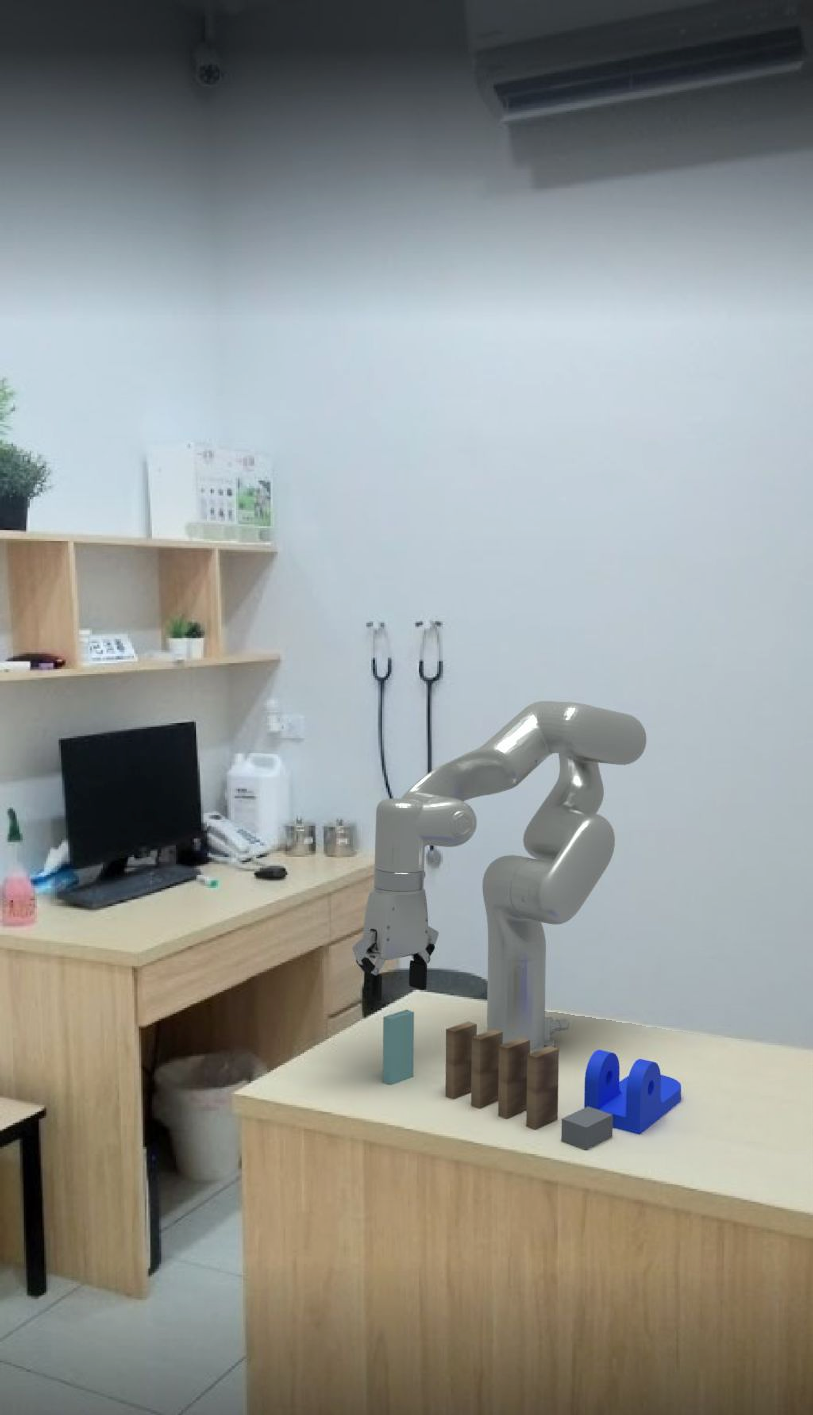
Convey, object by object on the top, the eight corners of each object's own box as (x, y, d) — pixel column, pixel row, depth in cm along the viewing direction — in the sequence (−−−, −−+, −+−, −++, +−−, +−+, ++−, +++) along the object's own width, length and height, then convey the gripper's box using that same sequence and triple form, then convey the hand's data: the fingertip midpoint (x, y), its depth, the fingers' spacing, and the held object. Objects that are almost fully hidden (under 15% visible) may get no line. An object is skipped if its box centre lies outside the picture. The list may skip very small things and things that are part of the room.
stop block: (587, 1127, 156) (588, 1106, 156) (612, 1136, 153) (612, 1114, 153) (561, 1140, 152) (561, 1118, 152) (586, 1149, 149) (586, 1127, 149)
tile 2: (468, 1087, 170) (468, 1021, 170) (476, 1090, 169) (476, 1023, 169) (445, 1096, 167) (446, 1028, 166) (453, 1099, 166) (454, 1031, 165)
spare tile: (405, 1073, 176) (406, 1009, 175) (413, 1076, 175) (414, 1011, 174) (382, 1082, 172) (383, 1016, 172) (390, 1084, 171) (390, 1019, 171)
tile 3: (493, 1096, 167) (494, 1029, 167) (501, 1099, 166) (502, 1031, 166) (471, 1105, 163) (471, 1036, 163) (479, 1108, 162) (480, 1039, 162)
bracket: (639, 1135, 154) (641, 1070, 154) (583, 1121, 159) (585, 1057, 158) (689, 1095, 169) (690, 1035, 168) (637, 1082, 174) (638, 1024, 173)
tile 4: (520, 1106, 164) (521, 1037, 163) (529, 1109, 162) (530, 1039, 162) (498, 1115, 160) (498, 1045, 160) (506, 1119, 159) (507, 1048, 158)
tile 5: (548, 1116, 160) (549, 1045, 160) (557, 1119, 159) (558, 1048, 158) (526, 1126, 156) (527, 1054, 156) (535, 1129, 155) (536, 1057, 155)
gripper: (420, 871, 181) (417, 979, 181) (339, 883, 169) (336, 998, 169) (455, 878, 176) (452, 989, 176) (375, 891, 163) (371, 1009, 164)
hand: (395, 993), depth 173 cm, fingers open, 9 cm apart
